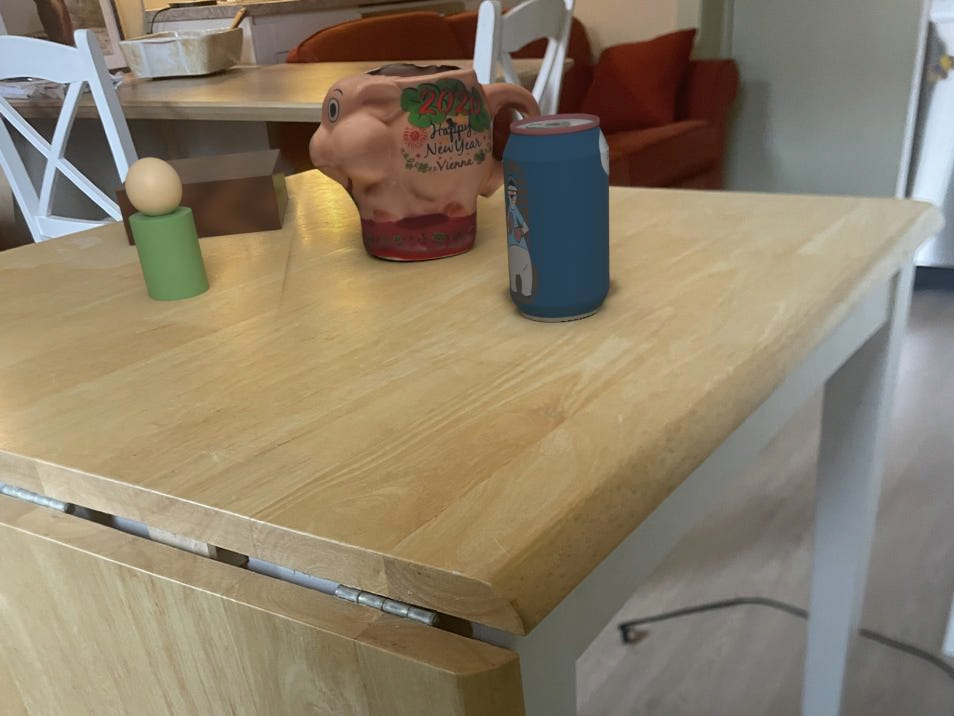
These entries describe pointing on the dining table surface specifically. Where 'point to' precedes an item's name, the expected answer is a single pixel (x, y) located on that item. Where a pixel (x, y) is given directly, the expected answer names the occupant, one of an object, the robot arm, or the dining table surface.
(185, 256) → the peg doll
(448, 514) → the dining table surface
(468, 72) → the pink ceramic mug
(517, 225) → the soda can
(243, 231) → the walnut block
